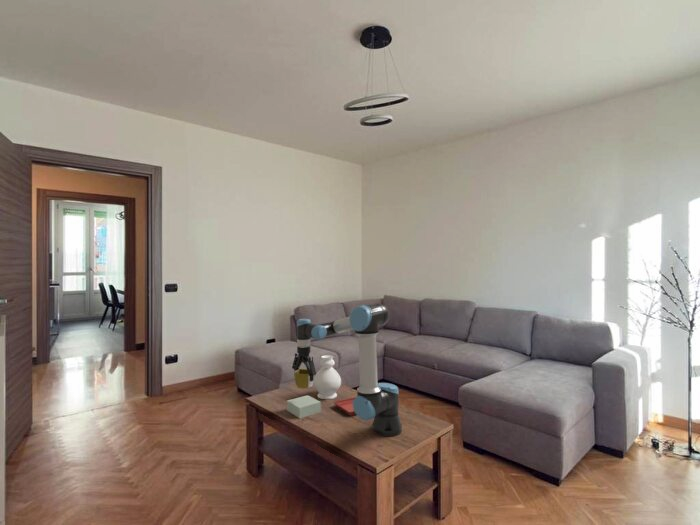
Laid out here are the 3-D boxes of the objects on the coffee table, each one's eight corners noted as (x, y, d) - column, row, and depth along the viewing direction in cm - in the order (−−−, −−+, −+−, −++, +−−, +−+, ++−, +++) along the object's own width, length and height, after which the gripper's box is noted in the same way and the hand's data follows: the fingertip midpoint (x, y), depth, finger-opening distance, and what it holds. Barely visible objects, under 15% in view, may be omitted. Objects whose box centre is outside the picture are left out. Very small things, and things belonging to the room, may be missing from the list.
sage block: (320, 412, 217) (320, 402, 217) (299, 418, 209) (299, 408, 209) (307, 405, 228) (307, 395, 228) (286, 411, 220) (286, 400, 220)
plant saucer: (358, 401, 235) (358, 396, 235) (376, 411, 219) (376, 405, 219) (333, 407, 225) (333, 401, 225) (349, 418, 210) (349, 412, 210)
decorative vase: (333, 402, 232) (333, 361, 231) (307, 398, 239) (307, 358, 239) (345, 393, 248) (345, 354, 247) (321, 389, 255) (321, 352, 255)
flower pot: (308, 390, 213) (308, 374, 213) (293, 389, 215) (293, 373, 215) (313, 385, 222) (313, 369, 222) (299, 384, 224) (299, 368, 224)
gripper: (322, 348, 213) (322, 387, 213) (296, 341, 229) (296, 377, 230) (312, 350, 207) (311, 390, 207) (286, 343, 224) (286, 380, 224)
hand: (303, 384), depth 219 cm, fingers closed on flower pot, 12 cm apart
